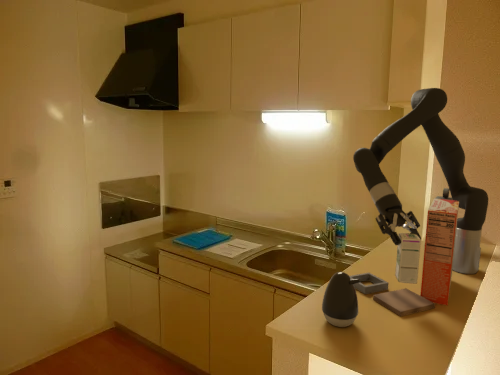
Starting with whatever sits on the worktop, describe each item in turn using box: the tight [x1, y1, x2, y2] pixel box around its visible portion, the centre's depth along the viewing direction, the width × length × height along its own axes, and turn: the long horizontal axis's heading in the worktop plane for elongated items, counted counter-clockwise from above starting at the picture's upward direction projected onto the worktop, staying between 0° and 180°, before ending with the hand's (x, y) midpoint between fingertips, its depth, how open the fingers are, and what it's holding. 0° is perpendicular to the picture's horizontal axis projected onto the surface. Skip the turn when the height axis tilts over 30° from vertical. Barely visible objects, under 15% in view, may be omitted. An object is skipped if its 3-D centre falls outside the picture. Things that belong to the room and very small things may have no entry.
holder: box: [349, 272, 389, 295], centre depth 134 cm, size 10×10×2 cm
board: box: [372, 287, 436, 317], centre depth 122 cm, size 14×12×2 cm
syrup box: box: [394, 232, 422, 285], centre depth 119 cm, size 6×6×14 cm
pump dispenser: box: [321, 271, 361, 328], centre depth 109 cm, size 10×10×15 cm
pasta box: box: [419, 197, 460, 306], centre depth 130 cm, size 23×8×30 cm, turn 150°
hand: (408, 242), depth 118 cm, fingers closed on syrup box, 7 cm apart
